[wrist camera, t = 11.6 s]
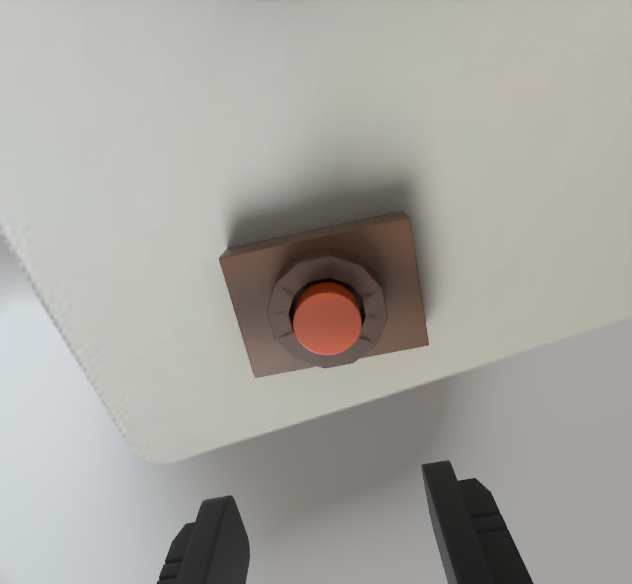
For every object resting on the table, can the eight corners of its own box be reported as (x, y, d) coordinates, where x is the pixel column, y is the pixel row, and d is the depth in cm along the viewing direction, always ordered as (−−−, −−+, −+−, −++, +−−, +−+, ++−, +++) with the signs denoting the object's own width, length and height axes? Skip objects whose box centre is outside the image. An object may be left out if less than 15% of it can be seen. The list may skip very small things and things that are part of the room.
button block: (421, 330, 29) (436, 359, 25) (259, 361, 30) (250, 394, 26) (403, 210, 27) (416, 223, 23) (226, 248, 28) (210, 266, 24)
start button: (364, 334, 25) (367, 348, 24) (303, 346, 26) (301, 361, 24) (352, 275, 24) (354, 286, 23) (288, 288, 24) (285, 299, 23)
